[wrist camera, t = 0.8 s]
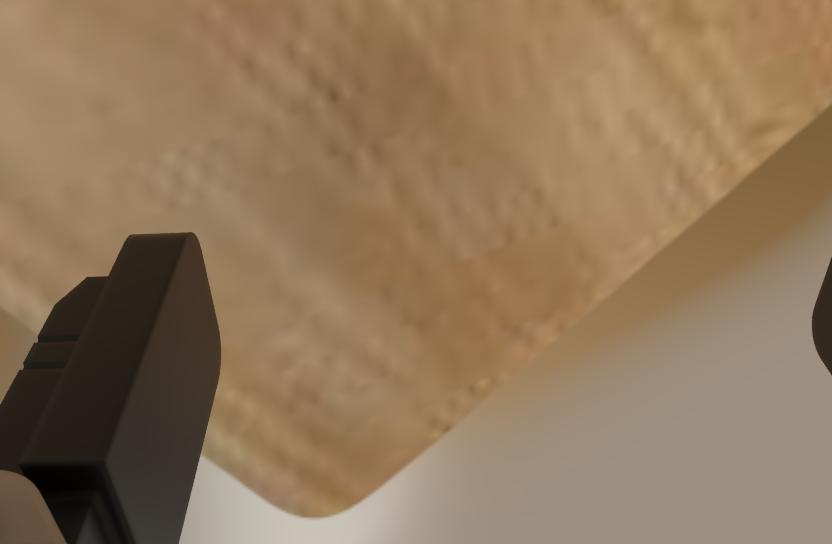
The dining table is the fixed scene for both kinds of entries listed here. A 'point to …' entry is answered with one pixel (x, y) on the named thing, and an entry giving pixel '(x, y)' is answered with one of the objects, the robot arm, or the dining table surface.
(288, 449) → the dining table surface
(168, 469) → the robot arm
